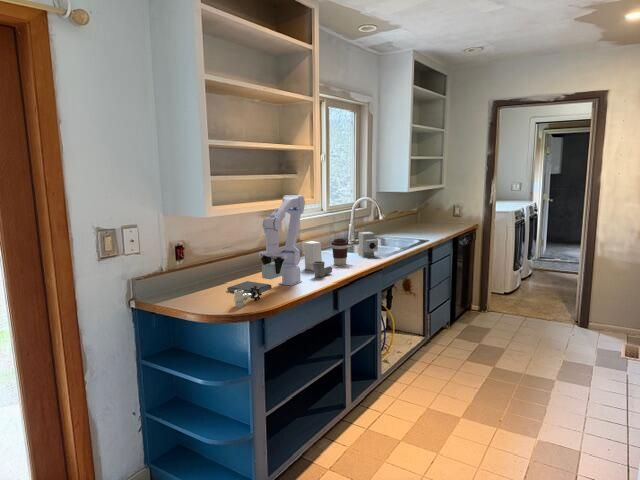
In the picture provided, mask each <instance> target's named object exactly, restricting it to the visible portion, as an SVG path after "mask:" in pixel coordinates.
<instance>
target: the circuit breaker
mask: <svg viewBox="0 0 640 480" xmlns="http://www.w3.org/2000/svg"><path fill="white" fill-rule="evenodd" d="M357 236H358V238H357V239H358V251H357V252H358V254H357V255H358V256H360V257H362V258H369V257H370V258H371V257H375V253H376V252H378V251H379V250H378V247H379V245H378V244H379V243H378V242H379V241H378V239H376V238H375V233H374V232H372V231H365V232H363V231H361V232H358V235H357Z"/></svg>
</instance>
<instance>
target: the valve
mask: <svg viewBox="0 0 640 480" xmlns="http://www.w3.org/2000/svg"><path fill="white" fill-rule="evenodd" d="M250 289H252V290H251V291H250V292H249V293H248V294H246V293H244V294H243V290H235V291H234V292H233V293H234V297H233V301H234V306H235V308H242V307H245V301H248V299H249V298H250V299H253V301H254V302H257V301H260V300H261V296H262V292H260V293H259V291H260V288H258V289H257V286H254V288H253V287H251V288H250ZM254 290H256V291H257V292H256V291H255V292H253V291H254ZM257 293H258V294H257Z"/></svg>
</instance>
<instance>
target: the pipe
mask: <svg viewBox="0 0 640 480" xmlns="http://www.w3.org/2000/svg"><path fill="white" fill-rule="evenodd" d="M312 264H313V267H314V271H313V272H314V277H315V278H323V277H324V276H326V275H329V274H331V273H333V268H332V266H331V265H330V266H326V267H325V261H317V262H312Z"/></svg>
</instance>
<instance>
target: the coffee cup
mask: <svg viewBox="0 0 640 480" xmlns="http://www.w3.org/2000/svg"><path fill="white" fill-rule="evenodd" d="M331 245H332V258H333V264H334V265H335V266H345V265H347V257H348V245H349V241H347V239H345V238H334V239H333V241H331Z"/></svg>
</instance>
